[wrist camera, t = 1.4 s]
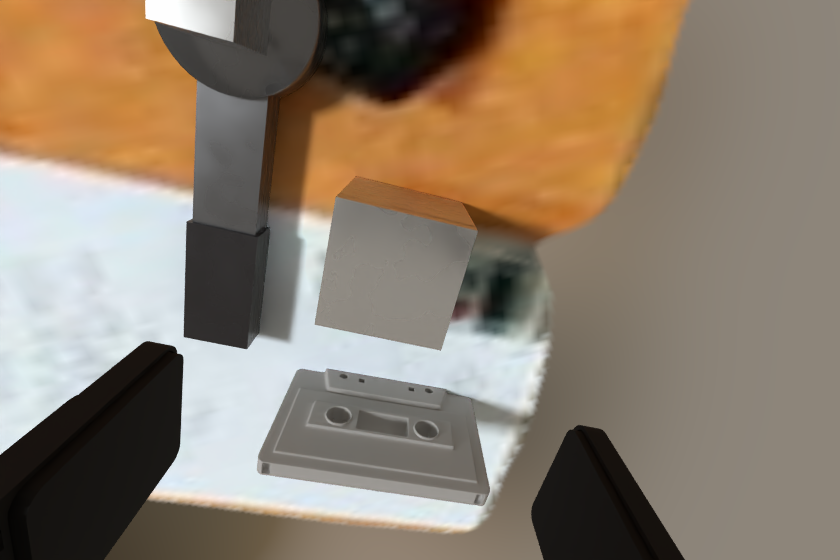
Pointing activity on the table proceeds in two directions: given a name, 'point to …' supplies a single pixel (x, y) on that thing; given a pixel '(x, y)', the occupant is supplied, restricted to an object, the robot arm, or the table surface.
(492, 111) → the table surface
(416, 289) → the grey block
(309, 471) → the cassette
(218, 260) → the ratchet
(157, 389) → the robot arm
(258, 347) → the table surface
